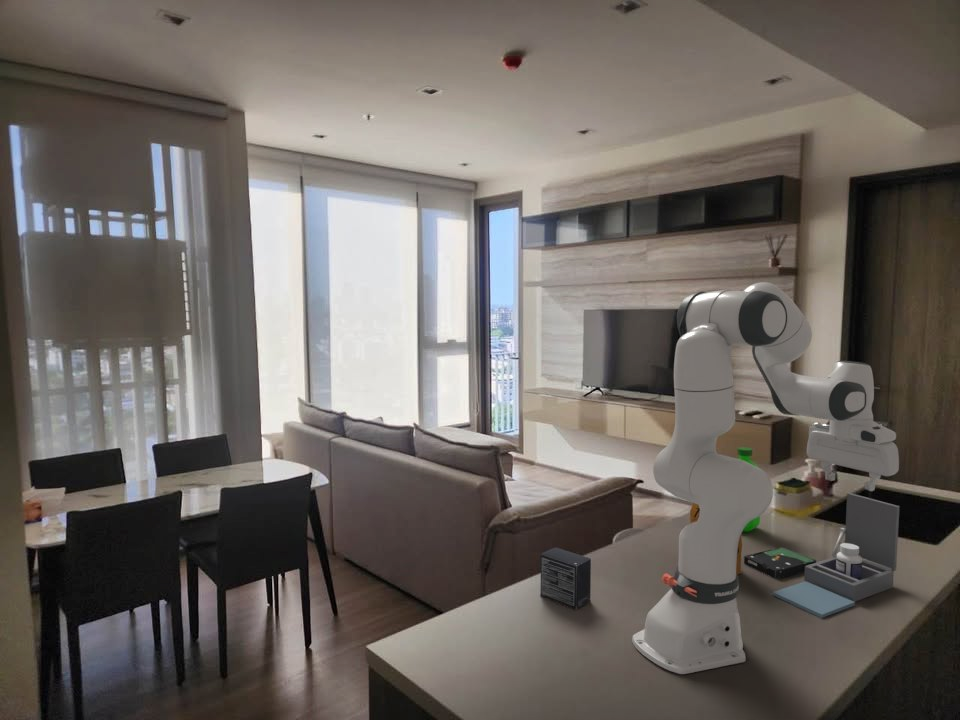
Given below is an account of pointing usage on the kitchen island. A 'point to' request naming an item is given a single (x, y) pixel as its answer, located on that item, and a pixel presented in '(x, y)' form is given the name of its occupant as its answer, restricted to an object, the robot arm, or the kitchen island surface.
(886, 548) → the hinged lid box
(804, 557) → the disk drive
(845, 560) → the pill bottle
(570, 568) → the small box
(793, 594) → the mat
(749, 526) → the plastic bottle
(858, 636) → the kitchen island surface
